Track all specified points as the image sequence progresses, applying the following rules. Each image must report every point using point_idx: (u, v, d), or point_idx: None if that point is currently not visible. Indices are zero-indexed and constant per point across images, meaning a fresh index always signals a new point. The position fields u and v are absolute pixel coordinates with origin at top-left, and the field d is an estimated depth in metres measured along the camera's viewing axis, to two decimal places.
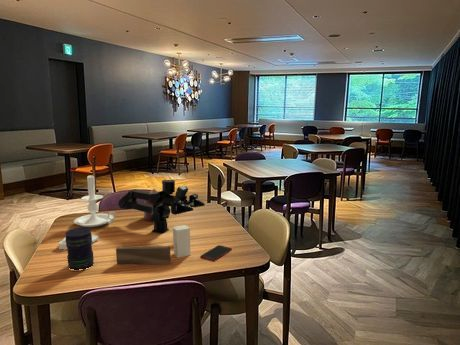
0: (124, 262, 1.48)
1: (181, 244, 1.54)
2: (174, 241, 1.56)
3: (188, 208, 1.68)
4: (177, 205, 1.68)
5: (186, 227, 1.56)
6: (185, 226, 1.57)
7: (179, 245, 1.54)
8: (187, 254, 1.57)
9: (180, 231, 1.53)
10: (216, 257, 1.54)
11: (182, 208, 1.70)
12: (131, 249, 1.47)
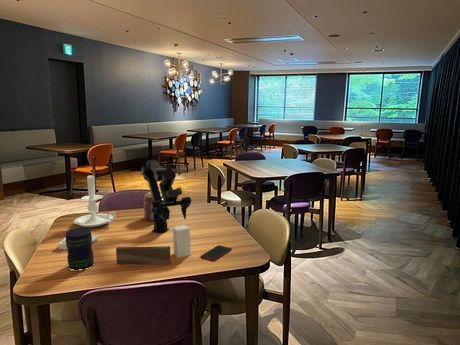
0: (124, 262, 1.48)
1: (181, 244, 1.54)
2: (174, 241, 1.56)
3: (163, 217, 1.61)
4: (155, 208, 1.61)
5: (186, 227, 1.56)
6: (185, 226, 1.57)
7: (179, 245, 1.54)
8: (187, 254, 1.57)
9: (180, 231, 1.53)
10: (216, 257, 1.54)
11: (160, 212, 1.62)
12: (131, 249, 1.47)
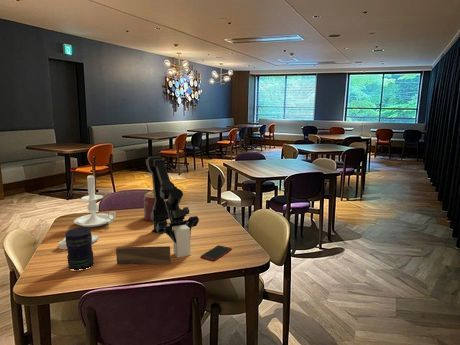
0: (124, 262, 1.48)
1: (181, 244, 1.54)
2: None
3: (172, 238, 1.55)
4: (165, 228, 1.55)
5: (186, 227, 1.56)
6: (185, 226, 1.57)
7: (179, 245, 1.54)
8: (187, 254, 1.57)
9: (180, 231, 1.53)
10: (216, 257, 1.54)
11: (169, 232, 1.57)
12: (131, 249, 1.47)
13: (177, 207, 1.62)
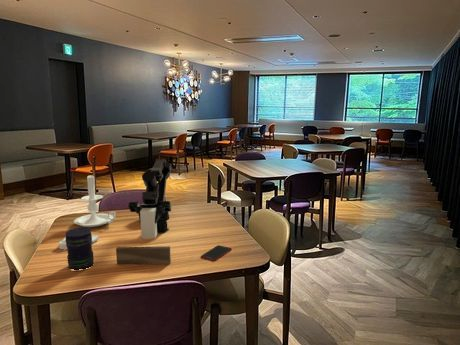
0: (124, 262, 1.48)
1: (145, 226, 1.58)
2: None
3: (139, 218, 1.59)
4: (134, 208, 1.61)
5: (152, 210, 1.58)
6: (153, 209, 1.59)
7: (143, 226, 1.58)
8: (151, 237, 1.59)
9: (144, 213, 1.56)
10: (216, 257, 1.54)
11: None
12: (131, 249, 1.47)
13: (153, 190, 1.65)
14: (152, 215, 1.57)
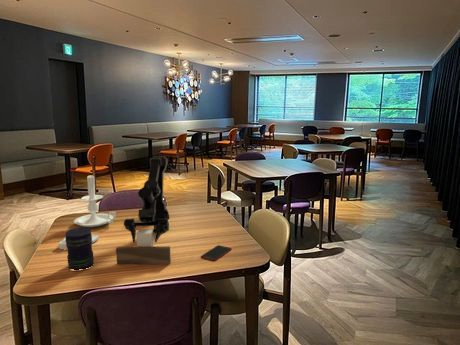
0: (124, 262, 1.48)
1: None
2: None
3: (132, 237, 1.52)
4: (126, 226, 1.53)
5: (149, 232, 1.51)
6: (150, 230, 1.52)
7: None
8: None
9: (140, 235, 1.49)
10: (216, 257, 1.54)
11: None
12: (131, 249, 1.47)
13: (150, 207, 1.58)
14: (149, 237, 1.50)
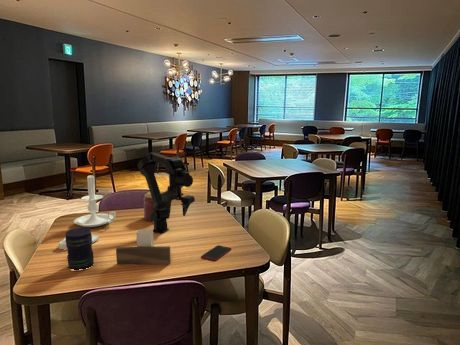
0: (124, 262, 1.48)
1: None
2: None
3: None
4: None
5: (149, 232, 1.51)
6: (150, 230, 1.52)
7: None
8: None
9: (140, 235, 1.49)
10: (217, 257, 1.54)
11: None
12: (131, 249, 1.47)
13: (174, 185, 1.70)
14: (149, 237, 1.49)
